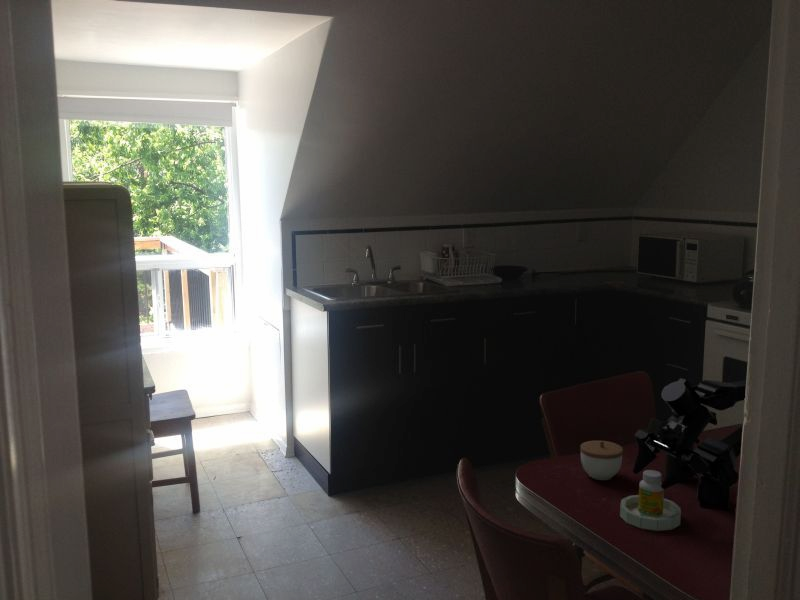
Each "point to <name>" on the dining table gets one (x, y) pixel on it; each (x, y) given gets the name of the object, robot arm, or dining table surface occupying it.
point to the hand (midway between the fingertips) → (647, 480)
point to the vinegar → (668, 458)
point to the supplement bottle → (651, 494)
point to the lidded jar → (601, 459)
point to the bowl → (664, 522)
